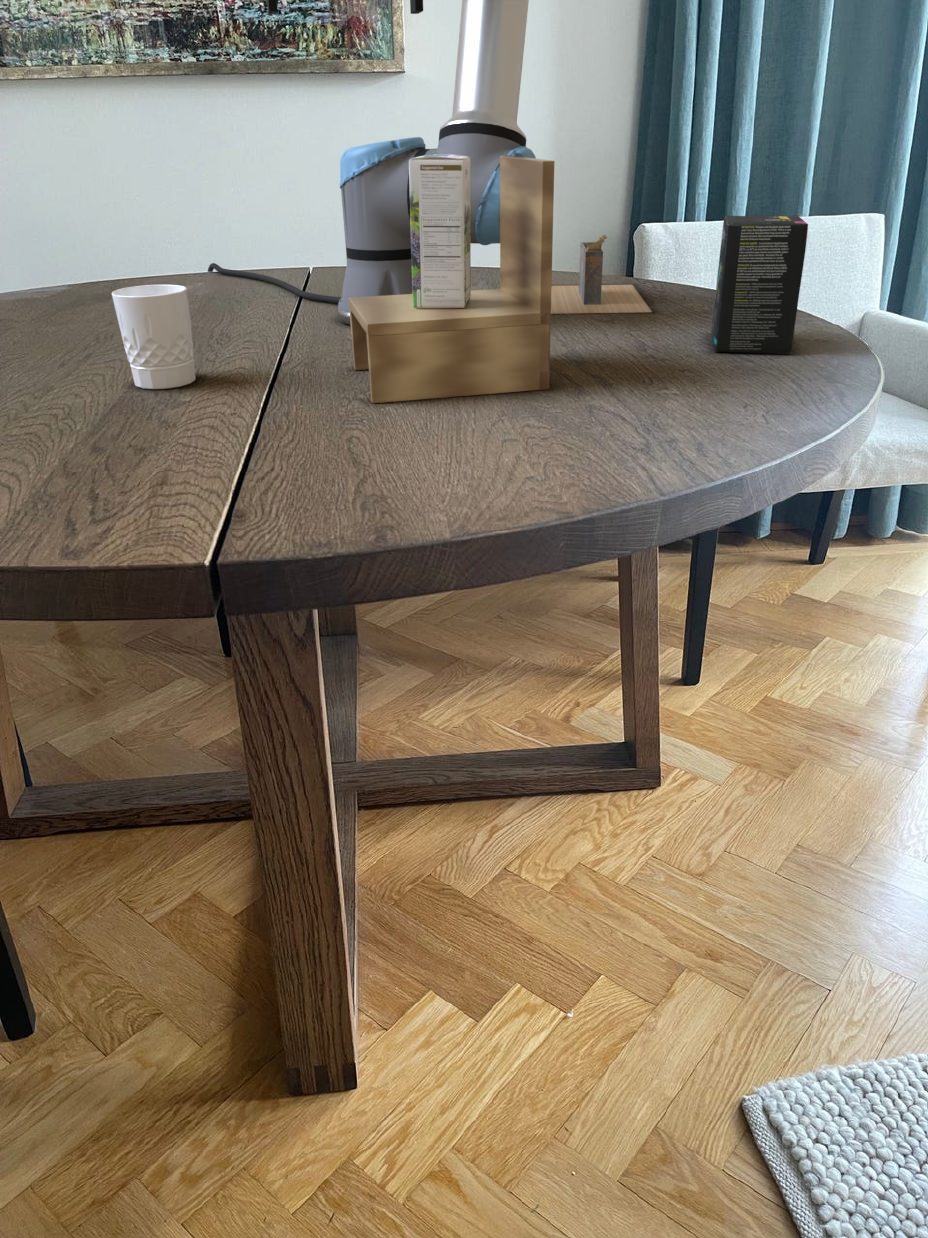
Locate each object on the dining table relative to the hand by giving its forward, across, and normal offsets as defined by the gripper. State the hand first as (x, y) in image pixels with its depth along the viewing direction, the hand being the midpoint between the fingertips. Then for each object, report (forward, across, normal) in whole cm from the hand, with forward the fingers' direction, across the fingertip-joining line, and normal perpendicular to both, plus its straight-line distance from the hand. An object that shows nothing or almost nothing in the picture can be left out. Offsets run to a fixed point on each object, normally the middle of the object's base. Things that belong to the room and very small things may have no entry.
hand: (345, 12), depth 87 cm
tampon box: (+35, +48, +4) cm, 60 cm away
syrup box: (+27, +8, -1) cm, 28 cm away
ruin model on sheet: (+35, +41, +42) cm, 68 cm away
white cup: (+35, -23, +7) cm, 42 cm away
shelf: (+35, +8, -1) cm, 36 cm away
